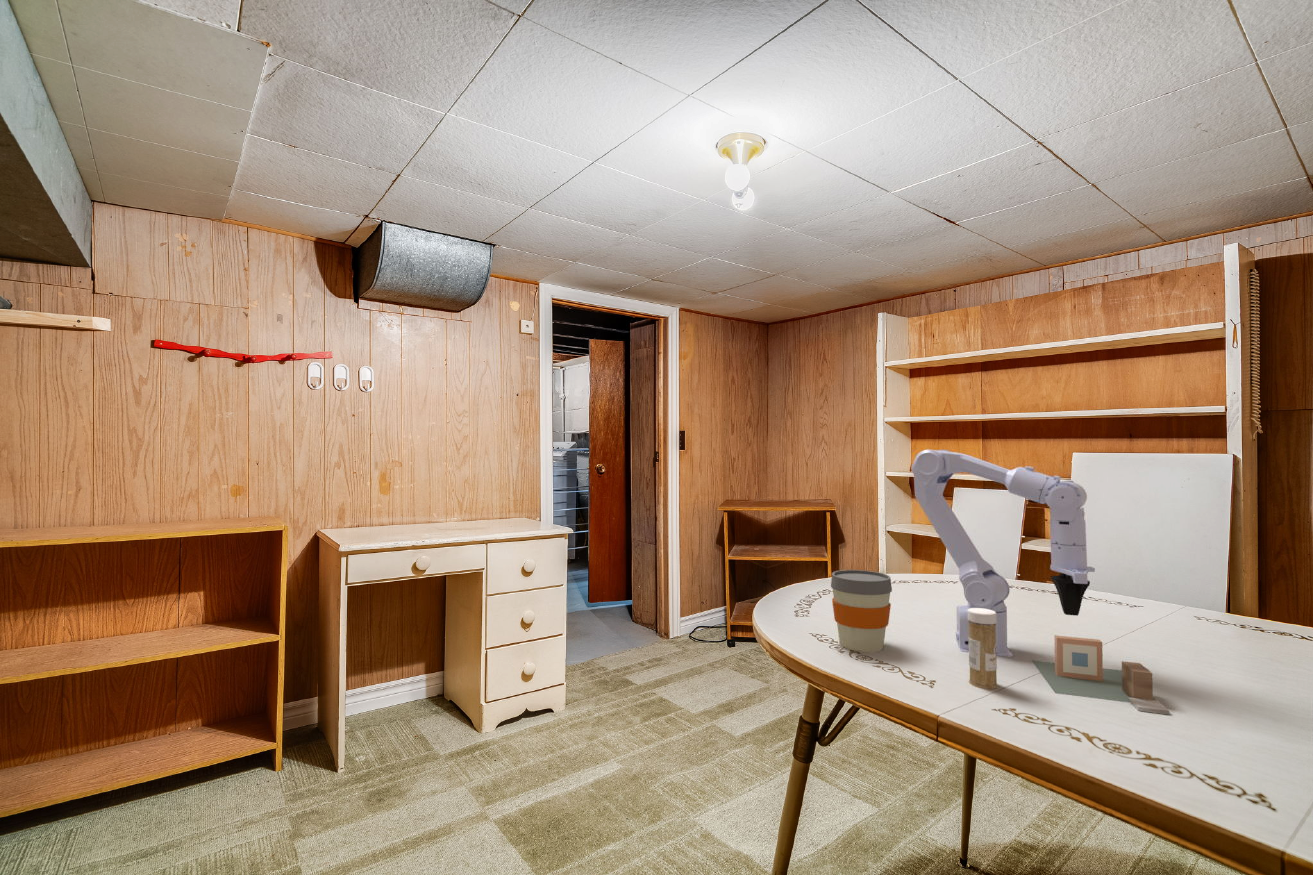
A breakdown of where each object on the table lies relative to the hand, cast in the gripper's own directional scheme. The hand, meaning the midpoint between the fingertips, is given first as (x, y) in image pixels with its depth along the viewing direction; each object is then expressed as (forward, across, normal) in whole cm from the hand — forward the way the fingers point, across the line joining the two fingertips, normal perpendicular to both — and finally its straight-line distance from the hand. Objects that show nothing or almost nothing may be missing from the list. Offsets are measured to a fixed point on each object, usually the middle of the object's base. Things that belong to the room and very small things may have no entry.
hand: (1070, 614), depth 114 cm
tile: (+10, -6, +1) cm, 12 cm away
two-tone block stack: (+10, -15, -6) cm, 19 cm away
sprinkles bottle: (+10, -16, +18) cm, 26 cm away
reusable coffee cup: (+10, 0, +39) cm, 40 cm away
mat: (+10, -7, -1) cm, 13 cm away
